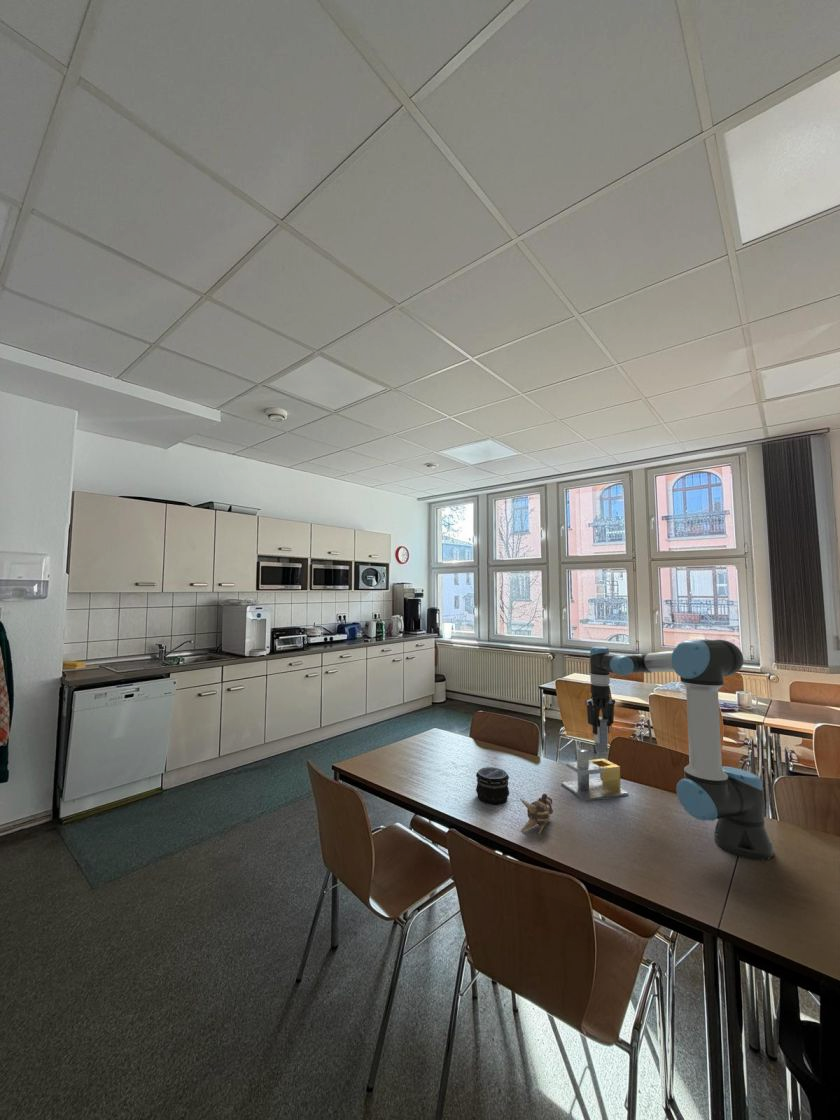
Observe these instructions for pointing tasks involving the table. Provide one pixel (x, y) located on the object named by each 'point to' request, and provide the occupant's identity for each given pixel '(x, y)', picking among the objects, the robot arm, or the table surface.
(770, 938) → the table surface
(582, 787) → the grey frame
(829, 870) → the table surface
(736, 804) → the robot arm
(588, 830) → the table surface
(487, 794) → the container
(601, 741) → the pin
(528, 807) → the toy
